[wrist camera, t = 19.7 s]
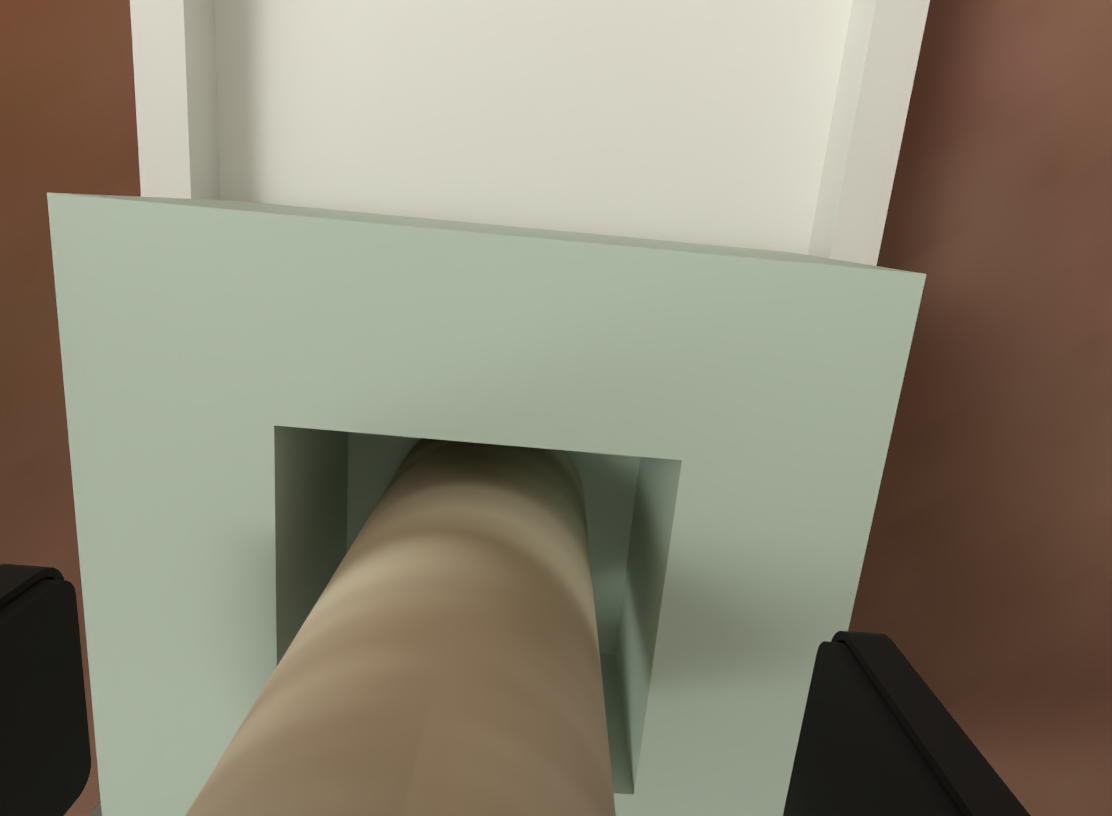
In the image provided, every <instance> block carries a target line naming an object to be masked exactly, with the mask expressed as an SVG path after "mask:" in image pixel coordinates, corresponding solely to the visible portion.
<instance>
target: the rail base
mask: <svg viewBox="0 0 1112 816" xmlns="http://www.w3.org/2000/svg"><path fill="white" fill-rule="evenodd" d="M929 3H930V0H130V10H131V28H132V46H133V63H134V81H135V99H136V117H137V135H138V152H139V170H140V188H141V197H161V198H184V199H207V200H229V201H244V202H255V203H266V204H277V205H287V206H298V207H309V208H320V209H330V210H341V211H352V212H363V213H373V214H384V215H395V216H406V217H416V218H427V219H438V220H449V221H460V222H470V223H481V224H492V225H503V226H513V227H524V228H535V229H546V230H556V231H567V232H578V233H589V234H599V235H610V236H621V237H632V238H642V239H653V240H664V241H675V242H685V243H696V244H707V245H718V246H729V247H739V248H750V249H761V250H772V251H782V252H792V253H798V254H804V255H811V256H817V257H823V258H829V259H836V260H842V261H848V262H854V263H861V264H867V265H873V266H877V261H878V256H879V251H880V246H881V241H882V236H883V231H884V226H885V221H886V216H887V211H888V206H889V201H890V196H891V191H892V186H893V181H894V176H895V171H896V166H897V162H898V157H899V152H900V147H901V142H902V137H903V132H904V127H905V122H906V117H907V112H908V107H909V102H910V97H911V92H912V87H913V82H914V77H915V72H916V67H917V62H918V57H919V53H920V48H921V43H922V38H923V33H924V28H925V23H926V18H927V13H928V8H929ZM89 816H102V810H101V801H100V802H99V803H98V805H97V806H96V807H95V809H94V810H93V811H92V812H91V814H90V815H89Z"/></svg>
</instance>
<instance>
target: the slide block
mask: <svg viewBox="0 0 1112 816" xmlns="http://www.w3.org/2000/svg"><path fill="white" fill-rule="evenodd" d="M47 200H48V211H49V222H50V234H51V245H52V256H53V268H54V279H55V290H56V302H57V313H58V324H59V335H60V347H61V358H62V369H63V381H64V392H65V403H66V414H67V426H68V437H69V448H70V460H71V471H72V482H73V494H74V505H75V516H76V527H77V539H78V550H79V561H80V573H81V584H82V595H83V606H84V618H85V629H86V640H87V652H88V663H89V674H90V686H91V697H92V708H93V719H94V731H95V742H96V753H97V765H98V776H99V787H100V798H101V810H102V816H185V815H186V814H187V812H188V810H189V809H190V807H191V806H192V804H193V802H194V801H195V799H196V797H197V796H198V794H199V793H200V791H201V789H202V788H203V786H204V784H205V783H206V781H207V780H208V778H209V776H210V775H211V773H212V771H213V770H214V768H215V767H216V765H217V763H218V762H219V760H220V758H221V757H222V755H223V754H224V752H225V750H226V749H227V747H228V745H229V744H230V742H231V740H232V739H233V737H234V736H235V734H236V732H237V731H238V729H239V727H240V726H241V724H242V723H243V721H244V719H245V718H246V716H247V714H248V713H249V711H250V710H251V708H252V706H253V705H254V703H255V701H256V700H257V698H258V697H259V695H260V693H261V692H262V690H263V688H264V687H265V685H266V684H267V682H268V680H269V679H270V677H271V675H272V674H273V672H274V671H275V669H276V667H277V666H278V664H279V662H280V661H281V659H282V658H283V656H284V654H285V653H286V651H287V649H288V648H289V646H290V645H291V643H292V641H293V640H294V638H295V636H296V635H297V633H298V632H299V630H300V628H301V627H302V625H303V623H304V622H305V620H306V619H307V617H308V615H309V614H310V612H311V610H312V609H313V607H314V606H315V604H316V602H317V601H318V599H319V597H320V596H321V594H322V593H323V591H324V589H325V588H326V586H327V584H328V583H329V581H330V580H331V578H332V576H333V575H334V573H335V571H336V570H337V568H338V567H339V565H340V563H341V562H342V560H343V558H344V557H345V555H346V554H347V552H348V550H349V549H350V547H351V545H352V544H353V542H354V541H355V539H356V537H357V536H358V534H359V532H360V531H361V529H362V528H363V526H364V524H365V523H366V521H367V519H368V518H369V516H370V514H371V513H372V511H373V510H374V508H375V506H376V505H377V503H378V501H379V500H380V498H381V497H382V495H383V493H384V492H385V490H386V488H387V487H388V485H389V484H390V482H391V480H392V479H393V477H394V475H395V474H396V472H397V471H398V469H399V467H400V466H401V464H402V462H403V461H404V459H405V458H406V456H407V455H408V453H409V452H410V451H411V449H412V448H413V447H414V446H415V444H416V443H417V442H418V441H419V440H420V439H421V438H426V439H438V440H450V441H461V442H473V443H485V444H497V445H508V446H520V447H532V448H543V449H555V450H565V452H566V453H567V454H568V456H569V457H570V459H571V460H572V462H573V464H574V466H575V468H576V470H577V472H578V474H579V477H580V481H581V484H582V489H583V495H584V504H585V514H586V524H587V534H588V544H589V554H590V564H591V574H592V584H593V594H594V604H595V614H596V623H597V633H598V643H599V653H600V663H601V673H602V683H603V693H604V703H605V713H606V723H607V733H608V743H609V753H610V763H611V773H612V783H613V793H614V803H615V813H616V816H783V812H784V807H785V802H786V797H787V793H788V788H789V783H790V778H791V773H792V769H793V764H794V759H795V754H796V750H797V745H798V740H799V735H800V730H801V726H802V721H803V716H804V711H805V707H806V702H807V697H808V692H809V687H810V683H811V678H812V673H813V668H814V664H815V659H816V654H817V650H818V647H819V645H820V644H821V643H822V642H824V641H828V642H831V640H832V638H833V636H834V635H835V633H837V632H838V631H848V628H849V624H850V619H851V615H852V610H853V606H854V601H855V597H856V592H857V588H858V583H859V579H860V574H861V569H862V565H863V560H864V556H865V551H866V547H867V542H868V538H869V533H870V529H871V524H872V519H873V515H874V510H875V506H876V501H877V497H878V492H879V488H880V483H881V479H882V474H883V469H884V465H885V460H886V456H887V451H888V447H889V442H890V438H891V433H892V429H893V424H894V420H895V415H896V410H897V406H898V401H899V397H900V392H901V388H902V383H903V379H904V374H905V370H906V365H907V360H908V356H909V351H910V347H911V342H912V338H913V333H914V329H915V324H916V320H917V315H918V310H919V306H920V301H921V297H922V292H923V288H924V283H925V279H926V274H923V273H917V272H911V271H905V270H898V269H892V268H886V267H880V266H873V265H867V264H861V263H854V262H848V261H842V260H836V259H829V258H823V257H817V256H811V255H804V254H798V253H792V252H782V251H772V250H761V249H750V248H739V247H729V246H718V245H707V244H696V243H685V242H675V241H664V240H653V239H642V238H632V237H621V236H610V235H599V234H589V233H578V232H567V231H556V230H546V229H535V228H524V227H513V226H503V225H492V224H481V223H470V222H460V221H449V220H438V219H427V218H416V217H406V216H395V215H384V214H373V213H363V212H352V211H341V210H330V209H320V208H309V207H298V206H287V205H277V204H266V203H255V202H244V201H229V200H207V199H184V198H161V197H138V196H115V195H92V194H69V193H47Z"/></svg>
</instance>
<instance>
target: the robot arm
mask: <svg viewBox="0 0 1112 816" xmlns="http://www.w3.org/2000/svg"><path fill="white" fill-rule="evenodd" d="M90 768H91V755H90V744H89V733H88V722H87V711H86V701H85V690H84V679H83V668H82V657H81V646H80V635H79V624H78V613H77V602H76V593H75V588H74V586H73V585H72V583H70V582H68V581H64V577H63V576H62V574H61V573H60V571H59V570H57V569H55V568H50V567H38V566H26V565H13V564H2V565H0V816H63V815H64V814H65V813H66V812H67V810H68V809H69V808H70V807H71V806H72V804H73V803H74V802H75V801H76V799H77V798H78V797H79V795H80V794H81V792H82V791H83V789H84V787H85V785H86V783H87V780H88V777H89V773H90ZM783 816H1030V815H1029V814H1028V812H1027V811H1026V810H1025V808H1024V807H1023V806H1022V805H1021V803H1020V802H1019V801H1018V800H1017V798H1016V797H1015V796H1014V795H1013V793H1012V792H1011V791H1010V789H1009V788H1008V787H1007V786H1006V784H1005V783H1004V782H1003V781H1002V779H1001V778H1000V777H999V776H998V774H997V773H996V772H995V771H994V769H993V768H992V767H991V765H990V764H989V763H988V762H987V760H986V759H985V758H984V757H983V755H982V754H981V753H980V752H979V750H978V749H977V748H976V746H975V745H974V744H973V743H972V741H971V740H970V739H969V738H968V736H967V735H966V734H965V733H964V731H963V730H962V729H961V727H960V726H959V725H958V724H957V722H956V721H955V720H954V719H953V717H952V716H951V715H950V714H949V712H948V711H947V710H946V709H945V707H944V706H943V705H942V703H941V702H940V701H939V700H938V698H937V697H936V696H935V695H934V693H933V692H932V691H931V690H930V688H929V687H928V686H927V684H926V683H925V682H924V681H923V679H922V678H921V677H920V676H919V674H918V673H917V672H916V671H915V669H914V668H913V667H912V666H911V664H910V663H909V662H908V660H907V659H906V658H905V657H904V655H903V654H902V653H901V652H900V650H899V649H898V648H897V647H896V645H895V644H894V643H893V641H892V640H891V639H890V638H889V637H888V636H886V635H883V634H874V633H862V632H850V631H838V632H837V633H835V635H834V636H833V638H832V640H831V642H828V641H824V642H822V643H821V644H820V645H819V647H818V650H817V654H816V659H815V664H814V668H813V673H812V678H811V683H810V687H809V692H808V697H807V702H806V707H805V711H804V716H803V721H802V726H801V730H800V735H799V740H798V745H797V750H796V754H795V759H794V764H793V769H792V773H791V778H790V783H789V788H788V793H787V797H786V802H785V807H784V812H783Z"/></svg>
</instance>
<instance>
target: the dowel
mask: <svg viewBox="0 0 1112 816" xmlns="http://www.w3.org/2000/svg"><path fill="white" fill-rule="evenodd" d="M185 816H616V813H615V803H614V793H613V783H612V773H611V763H610V753H609V743H608V733H607V723H606V713H605V703H604V693H603V683H602V673H601V663H600V653H599V643H598V633H597V623H596V614H595V604H594V594H593V584H592V574H591V564H590V554H589V544H588V534H587V524H586V514H585V504H584V495H583V489H582V484H581V481H580V477H579V474H578V472H577V470H576V468H575V466H574V464H573V462H572V460H571V459H570V457H569V456H568V454H567V453H566V452H565V450H555V449H543V448H532V447H520V446H508V445H497V444H485V443H473V442H461V441H450V440H438V439H426V438H421V439H420V440H419V441H418V442H417V443H416V444H415V446H414V447H413V448H412V449H411V451H410V452H409V453H408V455H407V456H406V458H405V459H404V461H403V462H402V464H401V466H400V467H399V469H398V471H397V472H396V474H395V475H394V477H393V479H392V480H391V482H390V484H389V485H388V487H387V488H386V490H385V492H384V493H383V495H382V497H381V498H380V500H379V501H378V503H377V505H376V506H375V508H374V510H373V511H372V513H371V514H370V516H369V518H368V519H367V521H366V523H365V524H364V526H363V528H362V529H361V531H360V532H359V534H358V536H357V537H356V539H355V541H354V542H353V544H352V545H351V547H350V549H349V550H348V552H347V554H346V555H345V557H344V558H343V560H342V562H341V563H340V565H339V567H338V568H337V570H336V571H335V573H334V575H333V576H332V578H331V580H330V581H329V583H328V584H327V586H326V588H325V589H324V591H323V593H322V594H321V596H320V597H319V599H318V601H317V602H316V604H315V606H314V607H313V609H312V610H311V612H310V614H309V615H308V617H307V619H306V620H305V622H304V623H303V625H302V627H301V628H300V630H299V632H298V633H297V635H296V636H295V638H294V640H293V641H292V643H291V645H290V646H289V648H288V649H287V651H286V653H285V654H284V656H283V658H282V659H281V661H280V662H279V664H278V666H277V667H276V669H275V671H274V672H273V674H272V675H271V677H270V679H269V680H268V682H267V684H266V685H265V687H264V688H263V690H262V692H261V693H260V695H259V697H258V698H257V700H256V701H255V703H254V705H253V706H252V708H251V710H250V711H249V713H248V714H247V716H246V718H245V719H244V721H243V723H242V724H241V726H240V727H239V729H238V731H237V732H236V734H235V736H234V737H233V739H232V740H231V742H230V744H229V745H228V747H227V749H226V750H225V752H224V754H223V755H222V757H221V758H220V760H219V762H218V763H217V765H216V767H215V768H214V770H213V771H212V773H211V775H210V776H209V778H208V780H207V781H206V783H205V784H204V786H203V788H202V789H201V791H200V793H199V794H198V796H197V797H196V799H195V801H194V802H193V804H192V806H191V807H190V809H189V810H188V812H187V814H186V815H185Z"/></svg>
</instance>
